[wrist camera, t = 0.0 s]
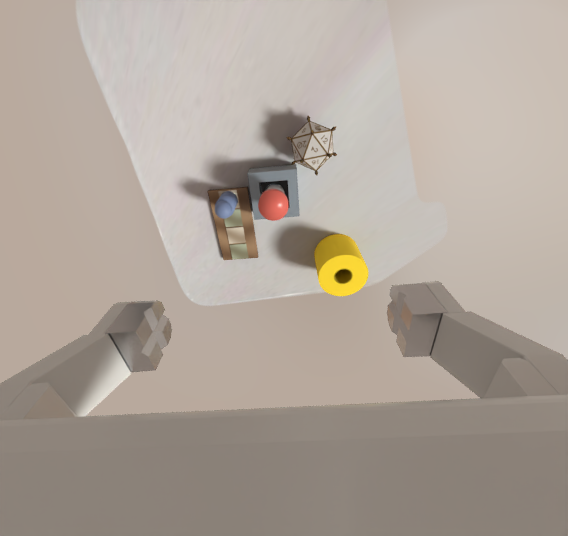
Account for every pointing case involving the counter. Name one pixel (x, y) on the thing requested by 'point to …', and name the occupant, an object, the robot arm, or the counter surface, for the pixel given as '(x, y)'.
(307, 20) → the counter surface
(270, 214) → the plunger
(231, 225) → the track board
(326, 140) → the game die
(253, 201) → the base
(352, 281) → the yellow hollow cylinder
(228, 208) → the pawn
